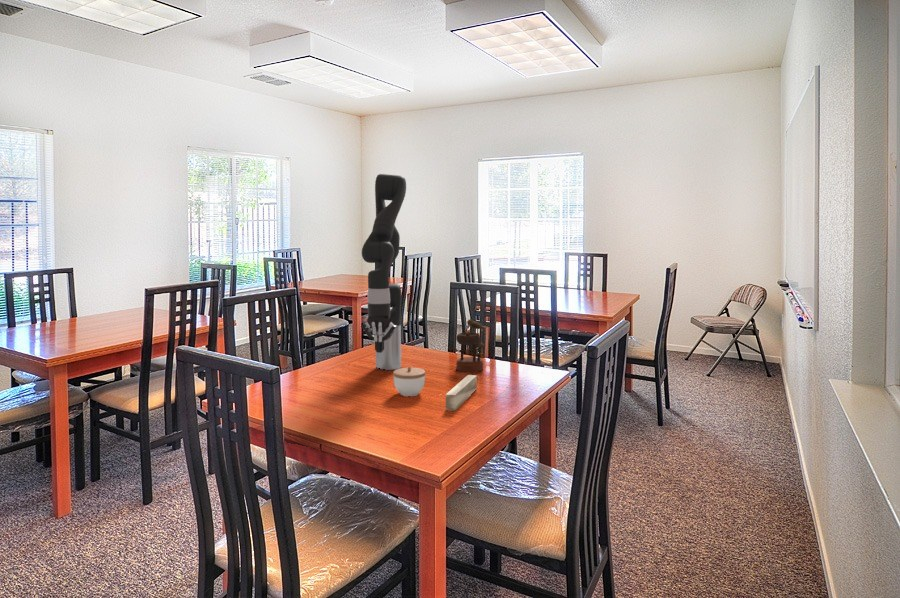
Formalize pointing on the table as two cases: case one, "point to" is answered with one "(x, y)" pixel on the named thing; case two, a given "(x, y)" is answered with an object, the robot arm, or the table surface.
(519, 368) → the table surface
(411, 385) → the lidded jar
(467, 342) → the music box
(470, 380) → the grey long bar
